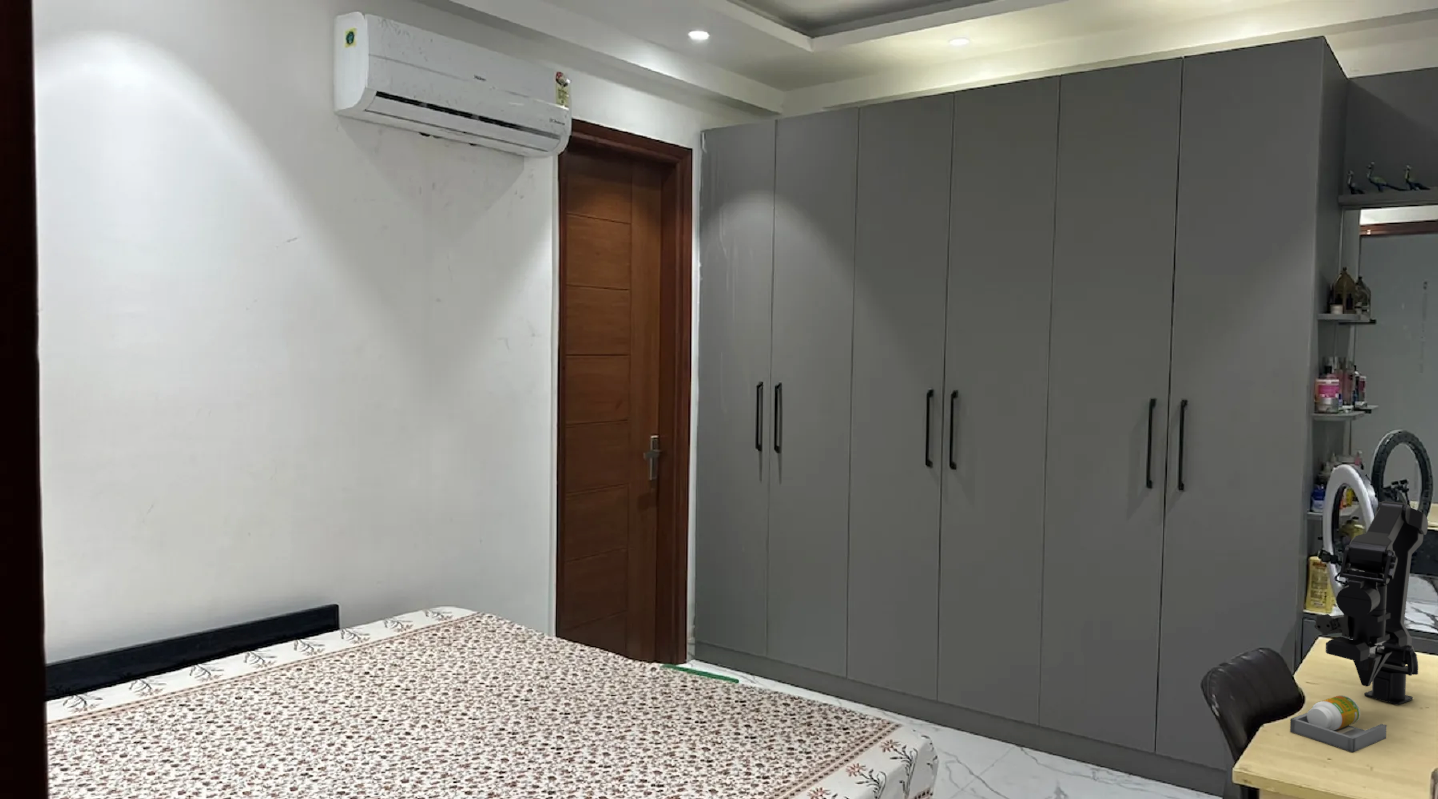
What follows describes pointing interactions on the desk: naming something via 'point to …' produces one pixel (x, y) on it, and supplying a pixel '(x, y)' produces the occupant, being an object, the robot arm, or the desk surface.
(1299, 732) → the tray
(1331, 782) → the desk surface
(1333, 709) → the supplement bottle
